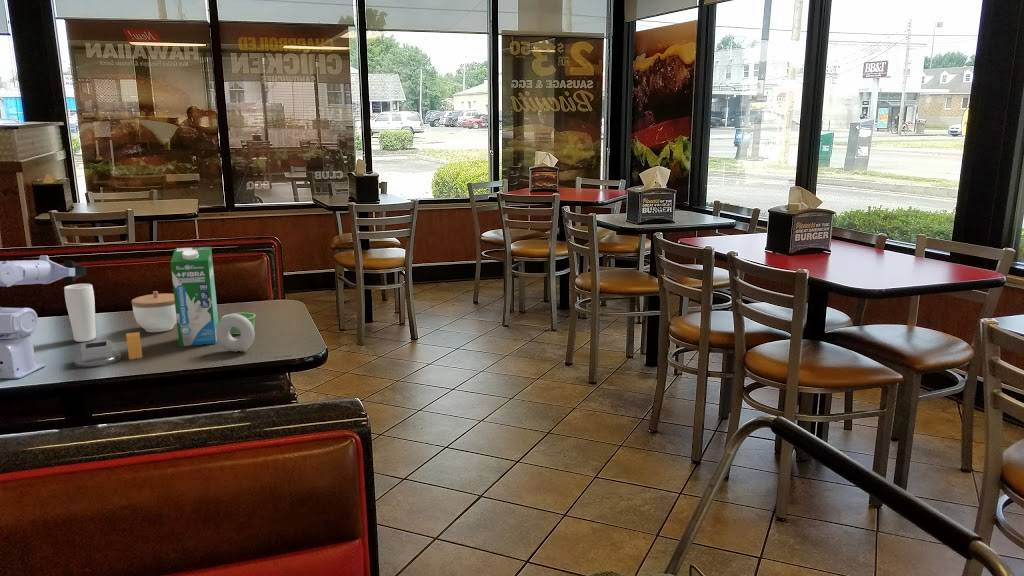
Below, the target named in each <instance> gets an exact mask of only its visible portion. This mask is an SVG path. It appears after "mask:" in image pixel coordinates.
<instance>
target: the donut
mask: <svg viewBox="0 0 1024 576" xmlns="http://www.w3.org/2000/svg"><path fill="white" fill-rule="evenodd" d="M229 314H230V315H228V314H226V315H227V316H225V315H224V316H225V317H223V316H222V317H223V318H222V317H221V319H219V320H218V325H217V327H216V335H217V342H218V343H219V344H220V345H221V346H222V347H223V348H224V349H226V350H227V351H230V352H233V351H234V352H233V353H238V352H237V351H240V352H244V351H246V350H247V349H249V348H250V346H252V344H253V343H254V341H255V335H256V333H255V329H254V327H253V325H252V324H251V322H250V321H249V320H248V319H247V318H246V317H244V316H242V315H239V314H233V313H229ZM232 327H237V328H238V329H239V330H240V332H241V334H240V335H239V338H235V337H233V335H232V334H230V329H231V328H232Z"/></svg>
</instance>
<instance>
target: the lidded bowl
mask: <svg viewBox="0 0 1024 576" xmlns="http://www.w3.org/2000/svg"><path fill="white" fill-rule="evenodd" d="M130 301H131V306H132V311H133V316H134V320H136V321H135V322H137V324H138V325H139V326H140V327H141V328H143V329H144V330H145V332H147V333H162V332H167V331H171V330H173V329H174V327H175V325H177V319H176V309H175V300H174V293H159V291H157V290H155V291H154V290H153V291H152V293H151V294H145V295H142V296H137V297H135V298H133V299H131V300H130Z"/></svg>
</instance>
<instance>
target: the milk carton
mask: <svg viewBox="0 0 1024 576" xmlns="http://www.w3.org/2000/svg"><path fill="white" fill-rule="evenodd" d="M212 250H213V249H212V246H201V247H200V246H198V247H195V246H194V247H175V249H174V251H173V254H172V256H171V260H170V268H171V269H170V271H171V281H172V290H173V294H174V300H175V309H176V319H177V323H176V326H177V327H176V328H177V337H178V345H179V347H191V346H190V345H193V346H204V345H203V344H206V345H215V343H216V344H217V342H218V339H217V335H216V327H217V325H218V322H219V317H218V316H219V314H218V305H217V295H216V294H217V293H216V286H215V285H216V284H215V273H214V263H213V253H212V252H213V251H212Z"/></svg>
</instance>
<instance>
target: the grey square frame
mask: <svg viewBox="0 0 1024 576" xmlns="http://www.w3.org/2000/svg"><path fill="white" fill-rule="evenodd" d="M80 345H81V346H80V352H81V353H80V354H81V355H77V356H76V357H75V358H74V359H73V360H74V365H75V367H77V368H84V369H85V368H99V367H103V366H109V365H113V364H115V363H117V362H119V361H121V360H122V356H121V355H122V353H121V352H120V351H117V350H113V348H112V341H111V339H108V340H107V339H106V340H99V341H91V342H90V341H89V342H83V343H82V342H81V344H80Z"/></svg>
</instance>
